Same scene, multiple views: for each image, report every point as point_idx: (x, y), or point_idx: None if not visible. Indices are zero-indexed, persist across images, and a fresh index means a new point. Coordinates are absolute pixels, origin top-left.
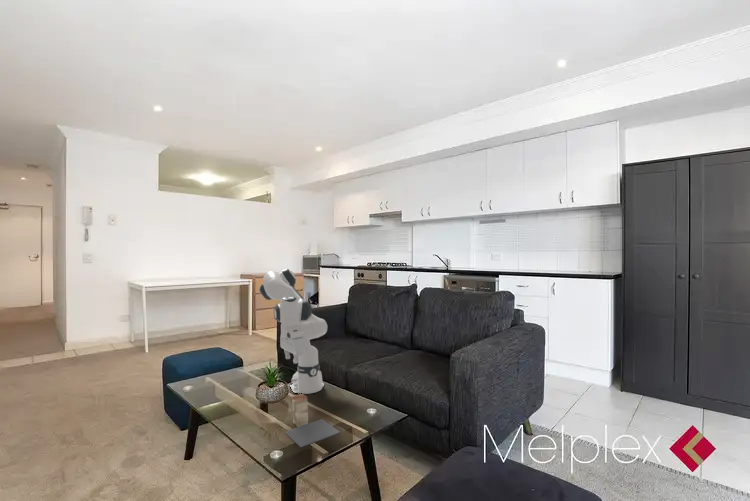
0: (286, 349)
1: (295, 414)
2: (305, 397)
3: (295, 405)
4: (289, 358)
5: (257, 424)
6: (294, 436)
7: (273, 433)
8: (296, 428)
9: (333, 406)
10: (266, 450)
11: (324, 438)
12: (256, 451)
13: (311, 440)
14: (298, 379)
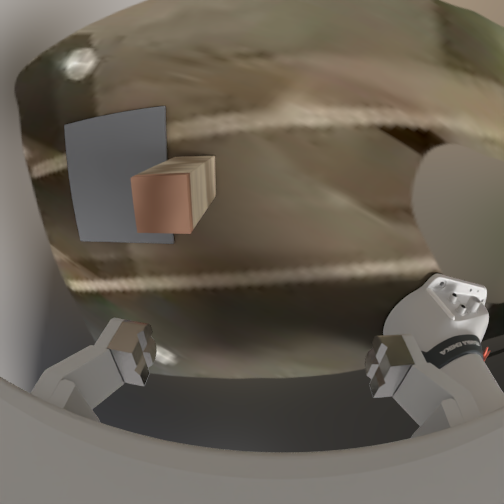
0: (336, 476)
1: (179, 162)
2: (136, 223)
3: (161, 169)
4: (366, 360)
5: (303, 53)
6: (116, 124)
7: (189, 74)
8: (159, 146)
9: (248, 314)
10: (108, 40)
11: (72, 194)
12: (122, 17)
13: (74, 160)
14: (446, 315)
